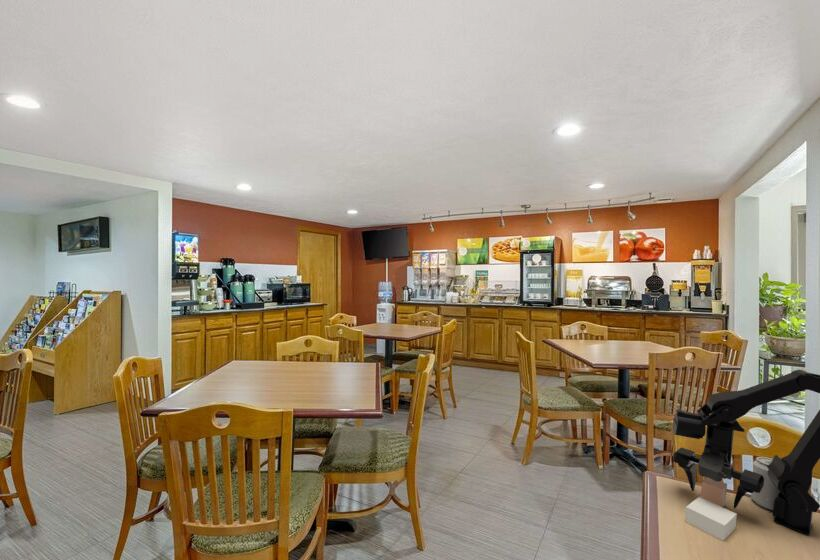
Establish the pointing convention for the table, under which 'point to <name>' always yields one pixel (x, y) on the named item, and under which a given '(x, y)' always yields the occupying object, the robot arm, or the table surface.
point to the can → (769, 488)
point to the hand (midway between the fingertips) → (713, 498)
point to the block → (714, 491)
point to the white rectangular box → (710, 518)
